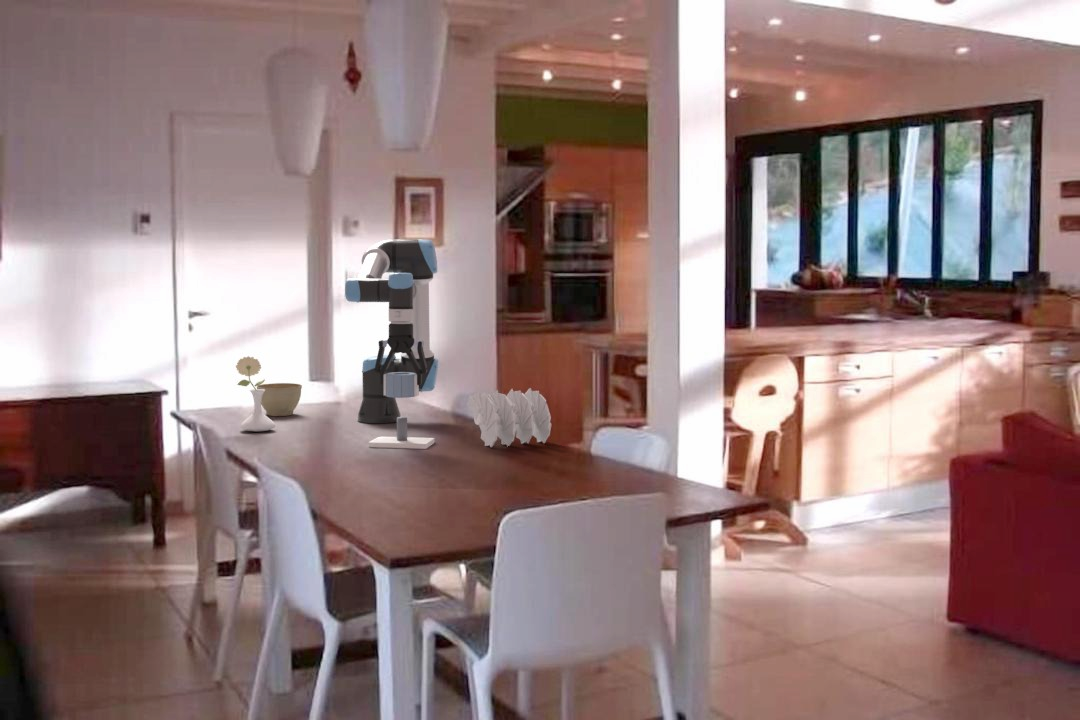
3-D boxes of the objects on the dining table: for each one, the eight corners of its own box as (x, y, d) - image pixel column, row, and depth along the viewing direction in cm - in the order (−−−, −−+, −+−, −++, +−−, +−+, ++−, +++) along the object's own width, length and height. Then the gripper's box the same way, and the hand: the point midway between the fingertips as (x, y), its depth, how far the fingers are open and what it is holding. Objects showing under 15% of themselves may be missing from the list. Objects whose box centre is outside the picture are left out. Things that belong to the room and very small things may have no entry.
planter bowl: (253, 413, 440) (252, 384, 439) (296, 411, 446) (296, 382, 446) (262, 418, 425) (261, 388, 424) (306, 416, 432) (306, 386, 431)
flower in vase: (280, 429, 401) (279, 355, 398) (269, 434, 389) (268, 358, 387) (242, 428, 402) (241, 354, 400) (230, 433, 391) (229, 357, 388)
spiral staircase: (552, 456, 373) (481, 458, 361) (529, 426, 386) (460, 427, 374) (567, 407, 365) (495, 408, 353) (543, 378, 378) (473, 377, 366)
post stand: (378, 441, 376) (378, 414, 375) (434, 442, 374) (434, 415, 373) (368, 447, 364) (368, 419, 363) (426, 448, 362) (426, 421, 361)
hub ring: (390, 393, 373) (390, 371, 372) (418, 394, 371) (418, 372, 371) (383, 397, 364) (383, 374, 363) (411, 398, 363) (411, 375, 362)
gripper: (363, 322, 363) (363, 395, 365) (432, 324, 360) (432, 397, 362) (370, 321, 371) (370, 393, 373) (438, 322, 368) (438, 394, 370)
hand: (401, 395), depth 367 cm, fingers closed on hub ring, 9 cm apart
